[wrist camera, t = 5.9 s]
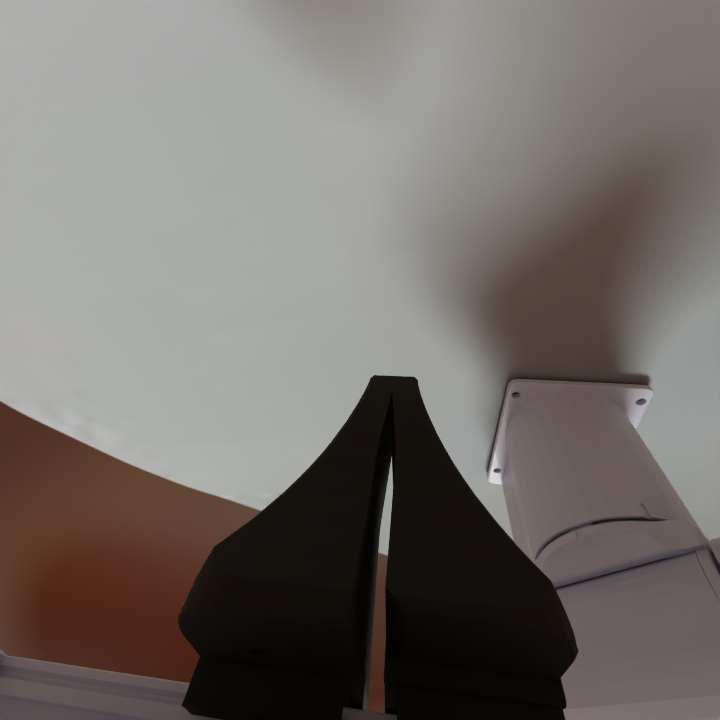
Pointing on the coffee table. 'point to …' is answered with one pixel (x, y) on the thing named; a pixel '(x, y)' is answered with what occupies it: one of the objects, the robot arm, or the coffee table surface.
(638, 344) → the coffee table surface
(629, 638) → the robot arm
